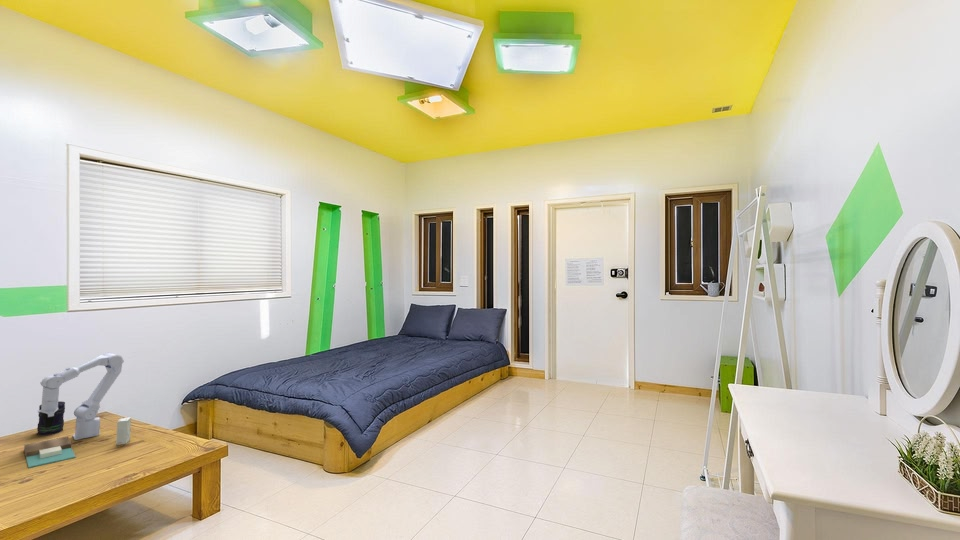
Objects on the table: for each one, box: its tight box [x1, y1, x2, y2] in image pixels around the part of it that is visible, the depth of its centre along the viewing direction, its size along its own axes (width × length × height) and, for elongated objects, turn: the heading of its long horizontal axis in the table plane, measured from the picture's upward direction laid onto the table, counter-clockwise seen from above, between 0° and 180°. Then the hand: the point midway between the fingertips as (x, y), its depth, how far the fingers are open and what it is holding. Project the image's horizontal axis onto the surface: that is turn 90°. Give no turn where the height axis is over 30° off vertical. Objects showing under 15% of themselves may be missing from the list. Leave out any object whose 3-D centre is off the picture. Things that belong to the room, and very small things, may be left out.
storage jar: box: [36, 401, 66, 437], centre depth 219 cm, size 10×10×15 cm
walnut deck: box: [23, 436, 72, 458], centre depth 200 cm, size 15×12×2 cm
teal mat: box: [25, 447, 76, 469], centre depth 191 cm, size 15×14×1 cm
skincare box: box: [115, 416, 132, 446], centre depth 212 cm, size 6×4×12 cm
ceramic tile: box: [39, 446, 62, 458], centre depth 194 cm, size 7×6×2 cm
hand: (48, 427), depth 203 cm, fingers closed
